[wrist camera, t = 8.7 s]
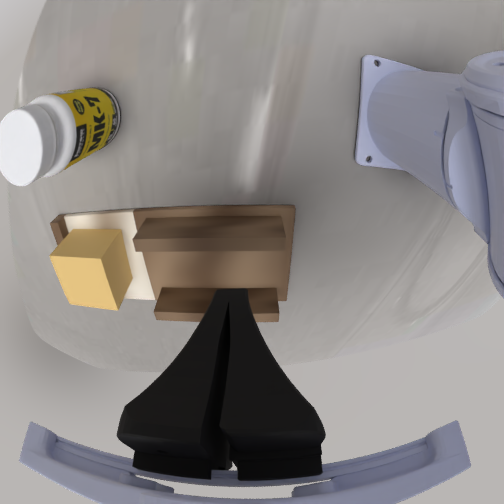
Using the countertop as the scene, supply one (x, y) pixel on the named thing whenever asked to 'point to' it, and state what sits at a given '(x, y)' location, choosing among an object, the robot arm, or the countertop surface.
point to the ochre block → (93, 267)
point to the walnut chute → (200, 254)
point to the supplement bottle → (56, 133)
